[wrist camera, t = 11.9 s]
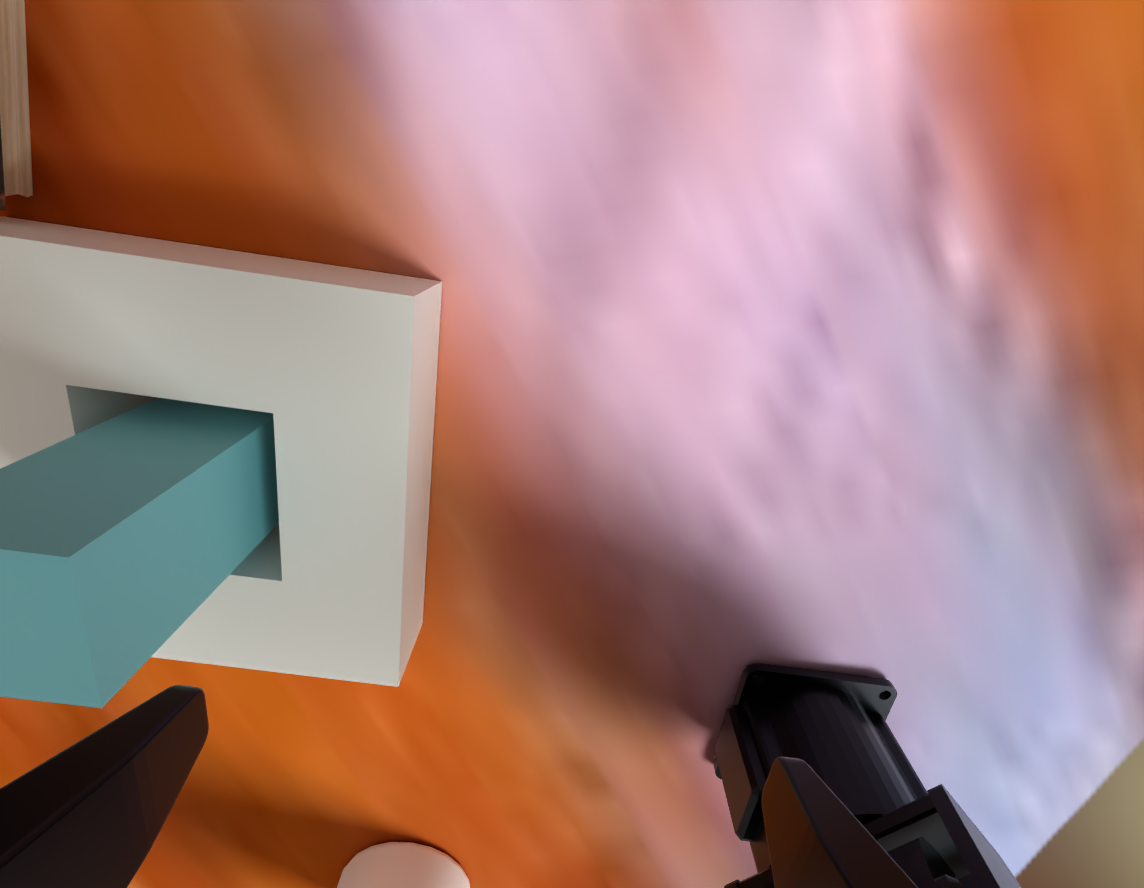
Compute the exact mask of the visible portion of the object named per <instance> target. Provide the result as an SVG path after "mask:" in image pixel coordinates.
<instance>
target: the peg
mask: <svg viewBox="0 0 1144 888" xmlns="http://www.w3.org/2000/svg"><path fill="white" fill-rule="evenodd" d="M278 524H279V512H278V494H277V475H276V456H275V437H274V418H273V413H267V412H260V411H253V410H246V409H238V408H231V407H224V406H216V405H209V404H202V403H195V402H187V401H180V400H173V399H166V398H156V399H154V400H152V401H149V402H147V403H145V404H143V405H141V406H138V407H136V408H134V409H132V410H129V411H127V412H125V413H123V414H121V415H118V416H116V417H114V418H112V419H109V420H107V421H105V422H103V423H101V424H98V425H96V426H94V427H92V428H89V429H87V430H85V431H83V432H81V433H78V434H76V435H74V436H72V437H69V438H67V439H65V440H63V441H61V442H58V443H56V444H54V445H52V446H50V447H47V448H45V449H43V450H41V451H38V452H36V453H34V454H32V455H30V456H27V457H25V458H23V459H21V460H18V461H16V462H14V463H12V464H10V465H7V466H5V467H3V468H1V469H0V697H9V698H17V699H26V700H35V701H44V702H52V703H61V704H70V705H79V706H87V707H96V708H102V707H103V706H104V705H105V704H106V703H107V702H108V701H109V700H110V699H111V698H112V697H113V696H114V695H115V694H116V693H117V692H118V691H119V690H120V689H121V688H122V687H123V685H124V684H125V683H126V682H127V681H128V680H129V679H130V678H131V677H132V676H133V675H134V674H135V673H136V672H137V671H138V670H139V669H140V668H141V667H142V666H143V665H144V664H145V662H146V661H147V660H148V659H149V658H150V657H151V656H152V655H153V654H154V653H155V652H156V651H157V650H158V649H159V648H160V647H161V646H162V645H163V644H164V643H165V642H166V641H167V640H168V638H169V637H170V636H171V635H172V634H173V633H174V632H175V631H176V630H177V629H178V628H179V627H180V626H181V625H182V624H183V623H184V622H185V621H186V620H187V619H188V618H189V617H190V615H191V614H192V613H193V612H194V611H195V610H196V609H197V608H198V607H199V606H200V605H201V604H202V603H203V602H204V601H205V600H206V599H207V598H208V597H209V596H210V595H211V594H212V593H213V591H214V590H215V589H216V588H217V587H218V586H219V585H220V584H221V583H222V582H223V581H224V580H225V579H226V578H227V577H228V576H229V575H230V574H231V573H232V572H233V571H234V570H235V568H236V567H237V566H238V565H239V564H240V563H241V562H242V561H243V560H244V559H245V558H246V557H247V556H248V555H249V554H250V553H251V552H252V551H253V550H254V549H255V548H256V547H257V546H258V544H259V543H260V542H261V541H262V540H263V539H264V538H265V537H266V536H267V535H268V534H269V533H270V532H271V531H272V530H273V529H274V528H275V527H276V526H277V525H278Z"/></svg>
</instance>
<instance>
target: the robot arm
mask: <svg viewBox="0 0 1144 888" xmlns="http://www.w3.org/2000/svg"><path fill="white" fill-rule="evenodd" d="M756 675H760V676H758V677H754V676H756ZM883 691H884V692H883ZM896 696H897V692H896V689H895V688H894V686H893V685H892V683H891V682H890V681H889V680H885V679H879V678H871V677H863V676H855V675H847V674H839V673H831V672H823V671H815V670H807V669H799V668H791V667H783V666H775V665H767V664H759V663H758V664H751V665H749V666H748V667H746V669H745V670H744V673H743V676H742V679H741V682H740V685H739V688H738V691H737V694H736V697H735V700H734V703H733V705H731V706H730V707H729V708H728V709H727V712H726V715H725V718H724V721H723V724H722V727H721V730H720V733H719V736H718V740H717V743H716V746H715V753H716V758H715V761H714V769H715V773H716V775H717V777H718V778H720V779H722V781H723V785H724V790H725V794H726V798H727V802H728V806H729V810H730V814H731V818H732V822H733V826H734V830H735V833H736V835H737V836H738V837H739V839H740V840H741V841H749V842H750V846H751V850H752V853H753V857H754V861H755V865H756V868H757V872H758V874H755V875H753V876H751V877H749V878H747V879H745V880H743V881H739V880H735V881H733V882H731V883H729V884H727V885H725V886H724V888H1021V887H1020V885H1019V884H1018V882H1017V880H1016V879H1015V877H1014V876H1013V874H1012V873H1011V872H1010V870H1009V869H1008V867H1007V866H1006V864H1005V863H1004V861H1003V860H1002V858H1001V857H1000V855H999V854H998V853H997V852H996V850H995V849H994V848H993V847H992V845H991V844H990V843H989V842H988V840H987V839H986V838H985V837H984V836H983V834H982V833H981V832H980V831H979V829H978V828H977V827H976V826H975V824H974V823H973V822H972V821H971V820H970V818H969V817H968V816H967V815H966V813H965V812H964V811H963V810H962V808H961V807H960V806H959V805H958V804H957V802H956V801H955V800H954V799H953V797H952V796H951V795H950V794H949V792H948V791H947V790H946V789H945V788H944V786H943V785H942V784H940V785H938V786H936V787H934V788H932V789H930V790H928V791H926V789H925V788H924V786H923V784H922V783H921V781H920V779H919V778H918V776H917V774H916V772H915V771H914V769H913V767H912V766H911V764H910V762H909V761H908V759H907V757H906V756H905V754H904V752H903V750H902V749H901V747H900V745H899V744H898V742H897V740H896V739H895V737H894V735H893V734H892V732H891V730H890V728H889V727H888V725H887V723H886V722H885V720H886V718H887V716H888V714H889V712H890V709H891V707H892V705H893V703H894V701H895V699H896ZM208 728H209V724H208V716H207V708H206V700H205V694H204V691H203V690H202V689H201V688H199V687H191V686H183V685H175V686H172V687H169V688H167V689H166V690H164V691H162V692H161V693H159V694H157V695H156V696H154V697H152V698H151V699H149V700H147V701H146V702H144V703H142V704H141V705H139V706H137V707H136V708H134V709H132V710H131V711H129V712H127V713H126V714H124V715H122V716H121V717H119V718H117V719H116V720H114V721H112V722H111V723H109V724H107V725H106V726H104V727H102V728H101V729H99V730H97V731H96V732H94V733H92V734H91V735H89V736H87V737H86V738H84V739H82V740H81V741H79V742H77V743H76V744H74V745H72V746H71V747H69V748H67V749H66V750H64V751H62V752H61V753H59V754H57V755H56V756H54V757H52V758H51V759H49V760H47V761H46V762H44V763H42V764H41V765H39V766H37V767H36V768H34V769H32V770H31V771H29V772H27V773H26V774H24V775H22V776H21V777H19V778H17V779H16V780H14V781H12V782H11V783H9V784H7V785H6V786H4V787H2V788H1V789H0V888H127V887H128V885H129V883H130V882H131V880H132V879H133V877H134V875H135V874H136V872H137V871H138V869H139V867H140V866H141V864H142V862H143V861H144V859H145V857H146V856H147V854H148V852H149V851H150V849H151V847H152V845H153V843H154V841H155V840H156V838H157V836H158V834H159V832H160V830H161V828H162V826H163V824H164V822H165V820H166V818H167V816H168V814H169V812H170V810H171V808H172V806H173V805H174V803H175V801H176V799H177V797H178V795H179V793H180V791H181V789H182V787H183V785H184V783H185V781H186V779H187V777H188V775H189V773H190V771H191V769H192V767H193V765H194V763H195V761H196V759H197V757H198V755H199V753H200V751H201V749H202V747H203V745H204V743H205V741H206V738H207V734H208ZM927 792H928V793H927Z"/></svg>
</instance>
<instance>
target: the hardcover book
mask: <svg viewBox="0 0 1144 888" xmlns="http://www.w3.org/2000/svg"><path fill="white" fill-rule="evenodd" d="M15 194H18V195H21V196H24V197H29V196H33V186H32V163H31V140H30V117H29V94H28V71H27V48H26V25H25V2H24V0H0V210H6V204H5V196H10V195H15Z"/></svg>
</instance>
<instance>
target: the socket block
mask: <svg viewBox="0 0 1144 888" xmlns="http://www.w3.org/2000/svg"><path fill="white" fill-rule="evenodd" d="M441 295H442V281H436V280H430V279H423V278H416V277H409V276H403V275H396V274H389V273H382V272H376V271H369V270H362V269H355V268H349V267H342V266H335V265H328V264H322V263H315V262H308V261H301V260H295V259H288V258H281V257H274V256H268V255H261V254H254V253H247V252H241V251H234V250H227V249H220V248H214V247H207V246H200V245H193V244H187V243H180V242H173V241H166V240H160V239H153V238H146V237H139V236H133V235H126V234H119V233H112V232H106V231H99V230H92V229H85V228H79V227H72V226H65V225H58V224H52V223H45V222H38V221H31V220H25V219H18V218H11V217H4V216H0V469H1V468H3V467H5V466H7V465H10V464H12V463H14V462H16V461H18V460H21V459H23V458H25V457H27V456H30V455H32V454H34V453H36V452H38V451H41V450H43V449H45V448H47V447H50V446H52V445H54V444H56V443H58V442H61V441H63V440H65V439H67V438H69V437H72V436H74V435H76V434H78V433H81V432H83V431H85V430H87V429H89V428H92V427H94V426H96V425H98V424H101V423H103V422H105V421H107V420H109V419H112V418H114V417H116V416H118V415H121V414H123V413H125V412H127V411H129V410H132V409H134V408H136V407H138V406H141V405H143V404H145V403H147V402H149V401H152V400H154V397H158V398H166V399H173V400H180V401H187V402H195V403H202V404H209V405H216V406H224V407H231V408H238V409H246V410H253V411H260V412H267V413H273V418H274V437H275V456H276V475H277V494H278V512H279V524H278V525H277V526H276V527H275V528H274V529H273V530H272V531H271V532H270V533H269V534H268V535H267V536H266V537H265V538H264V539H263V540H262V541H261V542H260V543H259V544H258V546H257V547H256V548H255V549H254V550H253V551H252V552H251V553H250V554H249V555H248V556H247V557H246V558H245V559H244V560H243V561H242V562H241V563H240V564H239V565H238V566H237V567H236V568H235V570H234V571H233V572H232V573H231V574H230V575H229V576H228V577H227V578H226V579H225V580H224V581H223V582H222V583H221V584H220V585H219V586H218V587H217V588H216V589H215V590H214V591H213V593H212V594H211V595H210V596H209V597H208V598H207V599H206V600H205V601H204V602H203V603H202V604H201V605H200V606H199V607H198V608H197V609H196V610H195V611H194V612H193V613H192V614H191V615H190V617H189V618H188V619H187V620H186V621H185V622H184V623H183V624H182V625H181V626H180V627H179V628H178V629H177V630H176V631H175V632H174V633H173V634H172V635H171V636H170V637H169V638H168V640H167V641H166V642H165V643H164V644H163V645H162V646H161V647H160V648H159V649H158V650H157V651H156V652H155V653H154V654H153V655H152V656H151V657H155V658H163V659H172V660H180V661H188V662H197V663H205V664H213V665H221V666H230V667H238V668H246V669H255V670H263V671H271V672H280V673H288V674H296V675H305V676H313V677H321V678H330V679H338V680H346V681H355V682H363V683H371V684H379V685H388V686H396V687H398V686H399V684H400V681H401V679H402V676H403V673H404V671H405V668H406V665H407V663H408V660H409V658H410V655H411V652H412V650H413V647H414V644H415V642H416V639H417V637H418V634H419V631H420V629H421V626H422V624H423V609H424V591H425V574H426V556H427V539H428V521H429V504H430V487H431V469H432V452H433V434H434V417H435V400H436V382H437V365H438V347H439V330H440V312H441Z"/></svg>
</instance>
